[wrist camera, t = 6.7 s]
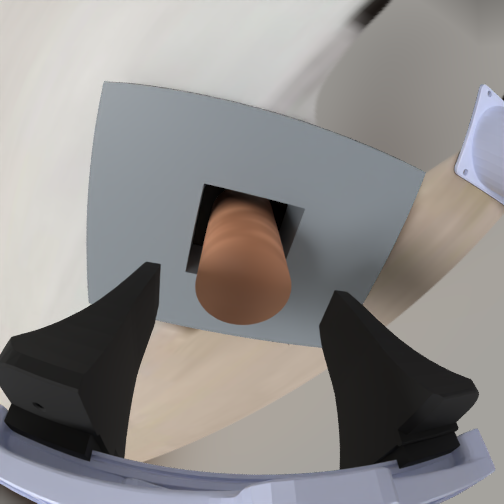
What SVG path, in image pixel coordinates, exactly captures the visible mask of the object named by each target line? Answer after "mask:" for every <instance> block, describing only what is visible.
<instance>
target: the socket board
mask: <svg viewBox="0 0 504 504" xmlns="http://www.w3.org/2000/svg"><path fill="white" fill-rule="evenodd" d="M425 173H426V172H424V171H422V170H420V169H418V168H416V167H414V166H412V165H410V164H408V163H406V162H404V161H402V160H400V159H398V158H396V157H394V156H391V155H389V154H387V153H384V152H382V151H380V150H378V149H375V148H373V147H371V146H368V145H366V144H363V143H361V142H358V141H356V140H353V139H351V138H348V137H346V136H343V135H340V134H338V133H335V132H332V131H330V130H327V129H324V128H321V127H318V126H316V125H313V124H310V123H307V122H304V121H301V120H297V119H294V118H291V117H288V116H285V115H281V114H278V113H275V112H271V111H268V110H264V109H260V108H257V107H253V106H249V105H245V104H241V103H237V102H233V101H229V100H225V99H220V98H216V97H211V96H207V95H202V94H197V93H191V92H186V91H181V90H175V89H169V88H162V87H156V86H148V85H141V84H132V83H122V82H106V81H104V84H103V88H102V93H101V98H100V103H99V109H98V114H97V120H96V126H95V133H94V140H93V148H92V156H91V165H90V176H89V189H88V205H87V281H88V298H89V303H91V304H93V303H95V302H96V301H98V300H99V299H101V298H102V297H103V296H105V295H106V294H107V293H109V292H110V291H111V290H113V289H114V288H115V287H117V286H118V285H119V284H120V283H121V282H123V281H124V280H125V279H126V278H127V277H129V276H130V275H131V274H132V273H133V272H134V271H135V270H137V269H138V268H139V267H140V266H141V265H142V264H143V263H145V262H152V263H158V264H161V272H160V294H159V307H158V311H157V316H156V320H158V321H163V322H167V323H172V324H176V325H181V326H186V327H191V328H196V329H201V330H206V331H211V332H217V333H222V334H228V335H234V336H240V337H246V338H252V339H258V340H265V341H272V342H279V343H286V344H294V345H302V346H310V347H319V348H322V346H321V339H320V331H319V324H320V322H321V320H322V318H323V315H324V313H325V311H326V309H327V306H328V304H329V302H330V300H331V297H332V295H333V293H334V290H338V291H345V292H348V293H349V294H351V295H352V296H353V297H354V298H355V299H356V300H358V301H359V302H360V303H361V304H363V303H364V301H365V299H366V297H367V295H368V294H369V292H370V290H371V288H372V286H373V285H374V283H375V281H376V279H377V277H378V275H379V273H380V272H381V270H382V268H383V266H384V264H385V262H386V260H387V258H388V256H389V254H390V252H391V250H392V248H393V246H394V244H395V242H396V240H397V238H398V236H399V234H400V231H401V229H402V227H403V225H404V223H405V221H406V218H407V216H408V214H409V212H410V209H411V207H412V205H413V203H414V200H415V198H416V196H417V193H418V191H419V188H420V186H421V183H422V181H423V178H424V176H425ZM206 184H209V185H213V186H217V187H222V188H226V189H230V190H234V191H239V192H243V193H247V194H251V195H255V196H259V197H263V198H267V199H271V200H274V201H278V202H282V203H286V204H288V207H287V210H286V212H285V215H284V218H283V221H282V224H281V227H280V230H279V236H280V240H281V243H282V247H283V251H284V255H285V259H286V263H287V266H288V270H289V274H290V278H291V293H290V297H289V299H288V301H287V303H286V304H285V306H284V307H283V308H282V310H281V311H279V312H278V313H277V314H276V315H274V316H273V317H271V318H270V319H268V320H265V321H263V322H260V323H256V324H251V325H235V324H229V323H226V322H223V321H220V320H218V319H216V318H215V317H213V316H212V315H210V314H209V313H208V312H207V311H206V310H205V309H204V308H203V307H202V306H201V304H200V302H199V301H198V298H197V295H196V290H195V282H196V277H197V272H198V267H199V263H200V258H201V253H202V249H203V246H200V245H196V244H193V239H194V234H195V230H196V225H197V220H198V216H199V211H200V207H201V202H202V198H203V194H204V189H205V185H206Z"/></svg>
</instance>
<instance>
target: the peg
mask: <svg viewBox="0 0 504 504" xmlns="http://www.w3.org/2000/svg"><path fill="white" fill-rule="evenodd" d="M195 290H196V295H197V298H198V301H199V302H200V304H201V306H202V307H203V308H204V309H205V310H206V311H207V312H208V313H209V314H210V315H212V316H213V317H215V318H216V319H218V320H220V321H223V322H226V323H229V324H235V325H251V324H256V323H260V322H263V321H265V320H268V319H270V318H271V317H273V316H274V315H276V314H277V313H278V312H279V311H281V310H282V308H283V307H284V306H285V304H286V303H287V301H288V299H289V297H290V293H291V278H290V274H289V270H288V266H287V263H286V259H285V255H284V251H283V247H282V243H281V240H280V236H279V232H278V228H277V225H276V221H275V217H274V213H273V210H272V206H271V204H270V202H269V200H268V199H267V198H263V197H259V196H255V195H251V194H247V193H243V192H239V191H234V190H230V189H227V190H225V191H223V192H222V193H221V194H220V195H219V196H218V197H217V198H216V199H215V201H214V203H213V205H212V209H211V213H210V217H209V222H208V226H207V230H206V235H205V239H204V244H203V249H202V253H201V258H200V263H199V267H198V272H197V277H196V282H195Z"/></svg>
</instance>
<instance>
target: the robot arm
mask: <svg viewBox="0 0 504 504" xmlns="http://www.w3.org/2000/svg"><path fill="white" fill-rule="evenodd" d="M488 93H489V94H488ZM464 170H465V172H464V174H463V171H464ZM455 173H456V174H457V175H459V176H460V177H462V178H464V179H465V180H467V181H468V182H470V183H472V184H473V185H475V186H476V187H478V188H479V189H481V190H482V191H484V192H485V193H487V194H488V195H490V196H491V197H493V198H494V199H496V200H497V201H499V202H500V203H501V204H503V205H504V101H503V100H502V99H501V98H500V97H499V96H498V95H497V94H496V93H494V92H493V91H492V90H491V89H490V88H489V87H488V86H487V85H484V84H481V85H480V87H479V91H478V95H477V99H476V103H475V106H474V110H473V113H472V117H471V120H470V123H469V127H468V130H467V133H466V136H465V139H464V142H463V145H462V148H461V151H460V154H459V157H458V159H457V162H456V165H455ZM160 272H161V264H158V263H152V262H145V263H143V264H142V265H141V266H140V267H139V268H138V269H137V270H135V271H134V272H133V273H132V274H131V275H130V276H129V277H127V278H126V279H125V280H124V281H123V282H121V283H120V284H119V285H118V286H117V287H115V288H114V289H113V290H111V291H110V292H109V293H107V294H106V295H105V296H103V297H102V298H101V299H99V300H98V301H96V302H95V303H93V304H92V305H90V306H88V307H87V308H85V309H83V310H81V311H80V312H78V313H76V314H74V315H72V316H70V317H68V318H65V319H63V320H61V321H59V322H57V323H54V324H52V325H49V326H47V327H44V328H41V329H38V330H35V331H32V332H28V333H24V334H21V335H17V336H13V337H11V339H10V340H9V341H8V343H7V344H6V346H5V348H4V349H3V351H2V353H1V354H0V387H1V388H2V390H3V391H4V393H5V394H6V396H7V397H8V399H9V400H10V402H11V403H12V404H11V406H10V408H9V411H8V410H7V409H6V408H5V407H3V406H2V405H0V484H2V485H4V486H5V487H7V488H9V489H11V490H13V491H14V492H16V493H18V494H20V495H22V496H24V497H26V498H28V499H30V500H32V501H34V502H36V503H39V504H439V503H441V502H444V501H446V500H448V499H450V498H452V497H454V496H456V495H458V494H459V493H461V492H463V491H465V490H467V489H468V488H470V487H471V486H473V485H475V484H476V483H478V482H479V481H481V480H483V479H484V478H486V477H487V476H489V475H490V474H492V473H493V472H494V471H495V467H494V464H493V462H492V460H491V457H490V455H489V452H488V451H487V448H486V446H485V443H484V441H483V439H482V436H481V435H480V432H479V430H478V429H473V430H471V431H468V432H465V433H463V434H461V435H459V436H458V437H457V436H456V434H455V431H457V430H458V426H457V423H456V422H457V421H458V420H459V419H460V418H461V417H462V416H463V415H464V414H465V413H466V412H467V411H468V410H469V409H470V408H471V407H472V406H473V405H474V404H475V402H476V401H477V399H478V396H479V392H478V390H477V388H476V387H475V385H474V383H473V381H472V380H471V379H469V378H466V377H464V376H461V375H459V374H456V373H454V372H451V371H449V370H447V369H445V368H443V367H441V366H439V365H438V364H436V363H434V362H432V361H430V360H429V359H427V358H426V357H424V356H422V355H421V354H419V353H418V352H416V351H415V350H413V349H412V348H411V347H409V346H408V345H407V344H405V343H404V342H403V341H401V340H400V339H399V338H398V337H396V336H395V335H394V334H393V333H392V332H391V331H389V330H388V329H387V328H386V327H385V326H384V325H383V324H382V323H381V322H380V321H378V320H377V319H376V318H375V317H374V316H373V315H372V314H371V313H370V312H369V311H368V310H367V309H366V308H365V307H364V306H363V305H362V304H361V303H360V302H359V301H358V300H356V299H355V298H354V297H353V296H352V295H351V294H349V293H348V292H345V291H338V290H334V293H333V295H332V297H331V300H330V302H329V304H328V306H327V309H326V311H325V313H324V315H323V318H322V320H321V322H320V324H319V331H320V339H321V346H322V349H323V353H324V357H325V360H326V364H327V367H328V371H329V374H330V378H331V381H332V385H333V389H334V393H335V397H336V398H335V399H336V406H337V412H338V423H339V436H340V470H334V471H325V472H314V473H302V474H278V475H247V474H246V475H245V474H225V473H211V472H200V471H192V470H184V469H176V468H170V467H164V466H157V465H152V464H147V463H142V462H137V461H133V460H128V459H124V456H125V445H126V436H127V429H128V422H129V415H130V409H131V403H132V398H133V392H134V387H135V382H136V378H137V374H138V370H139V367H140V364H141V361H142V358H143V355H144V353H145V350H146V347H147V344H148V341H149V339H150V336H151V333H152V330H153V327H154V324H155V320H156V316H157V311H158V307H159V294H160Z"/></svg>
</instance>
